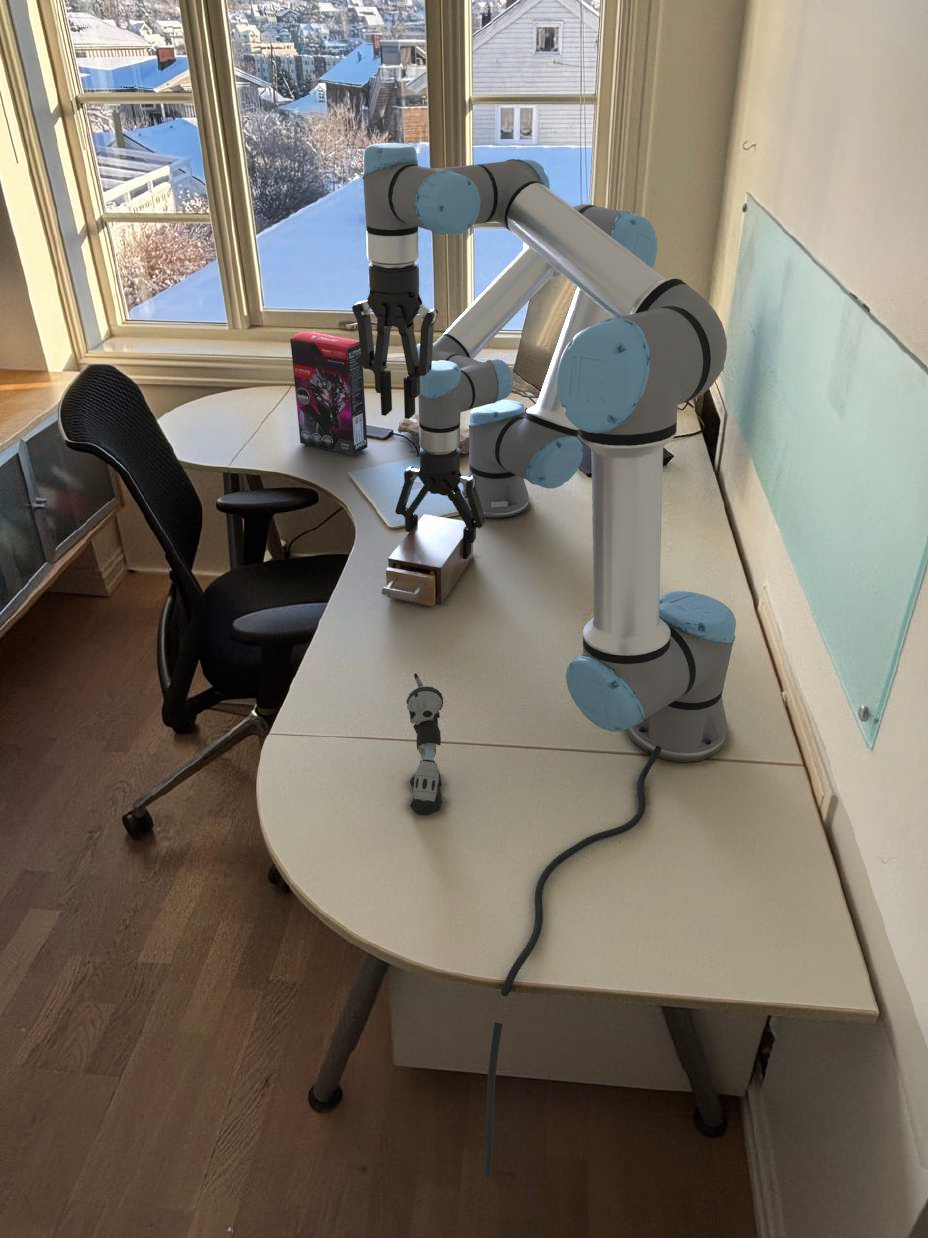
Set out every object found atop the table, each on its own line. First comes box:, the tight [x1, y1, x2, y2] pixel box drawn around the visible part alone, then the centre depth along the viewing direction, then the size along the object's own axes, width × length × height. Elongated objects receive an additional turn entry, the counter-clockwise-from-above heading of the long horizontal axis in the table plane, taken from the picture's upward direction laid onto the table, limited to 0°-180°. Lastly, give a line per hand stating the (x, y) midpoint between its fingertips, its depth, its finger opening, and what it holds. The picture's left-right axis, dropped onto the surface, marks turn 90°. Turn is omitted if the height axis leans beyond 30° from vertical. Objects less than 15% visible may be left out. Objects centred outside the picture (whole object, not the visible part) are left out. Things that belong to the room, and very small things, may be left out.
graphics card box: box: [289, 330, 368, 456], centre depth 225 cm, size 17×7×27 cm, turn 62°
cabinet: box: [387, 514, 474, 605], centre depth 179 cm, size 19×10×8 cm, turn 161°
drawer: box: [381, 564, 437, 607], centre depth 175 cm, size 23×9×6 cm, turn 161°
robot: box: [405, 673, 444, 816], centre depth 125 cm, size 20×5×20 cm, turn 3°
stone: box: [397, 413, 469, 455], centre depth 233 cm, size 21×15×6 cm
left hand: (440, 550), depth 183 cm, fingers closed on cabinet, 10 cm apart
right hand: (398, 413), depth 148 cm, fingers open, 3 cm apart
